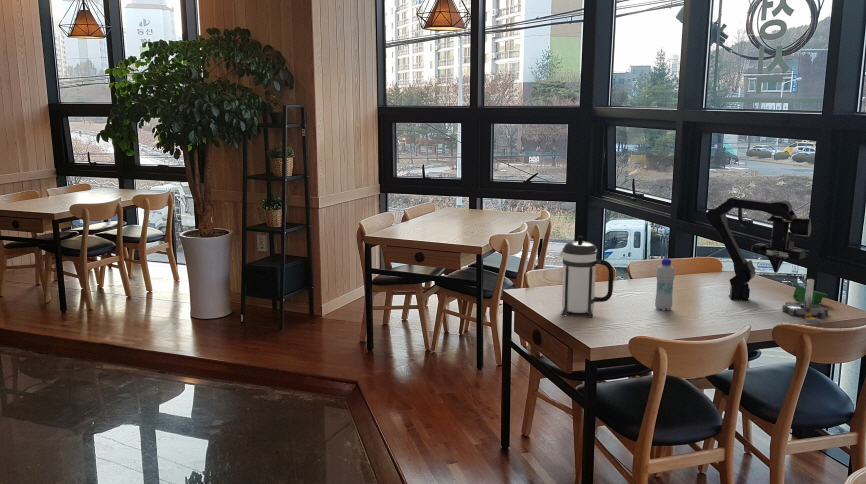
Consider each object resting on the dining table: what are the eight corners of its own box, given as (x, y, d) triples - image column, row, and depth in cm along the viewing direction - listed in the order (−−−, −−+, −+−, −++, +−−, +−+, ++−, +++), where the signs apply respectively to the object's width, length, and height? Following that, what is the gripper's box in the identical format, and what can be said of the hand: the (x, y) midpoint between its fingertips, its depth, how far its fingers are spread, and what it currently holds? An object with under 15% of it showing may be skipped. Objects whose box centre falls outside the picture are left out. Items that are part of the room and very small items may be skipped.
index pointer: (807, 322, 258) (807, 319, 258) (805, 319, 261) (805, 316, 261) (819, 322, 257) (819, 320, 257) (817, 320, 261) (817, 317, 260)
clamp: (818, 315, 281) (831, 297, 276) (805, 313, 279) (819, 295, 274) (802, 296, 290) (815, 279, 286) (790, 294, 289) (802, 276, 284)
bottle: (672, 307, 277) (675, 257, 273) (672, 312, 271) (675, 261, 267) (654, 305, 280) (657, 256, 276) (654, 310, 273) (656, 260, 269)
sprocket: (809, 320, 259) (813, 283, 256) (773, 309, 273) (776, 274, 270) (836, 314, 266) (840, 278, 263) (800, 304, 279) (803, 269, 276)
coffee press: (576, 321, 261) (579, 241, 255) (550, 310, 275) (552, 234, 269) (612, 315, 269) (616, 237, 263) (585, 304, 282) (588, 230, 276)
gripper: (814, 234, 273) (809, 273, 276) (766, 227, 287) (762, 265, 290) (801, 238, 266) (796, 278, 269) (752, 230, 280) (748, 269, 283)
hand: (775, 272), depth 278 cm, fingers closed
